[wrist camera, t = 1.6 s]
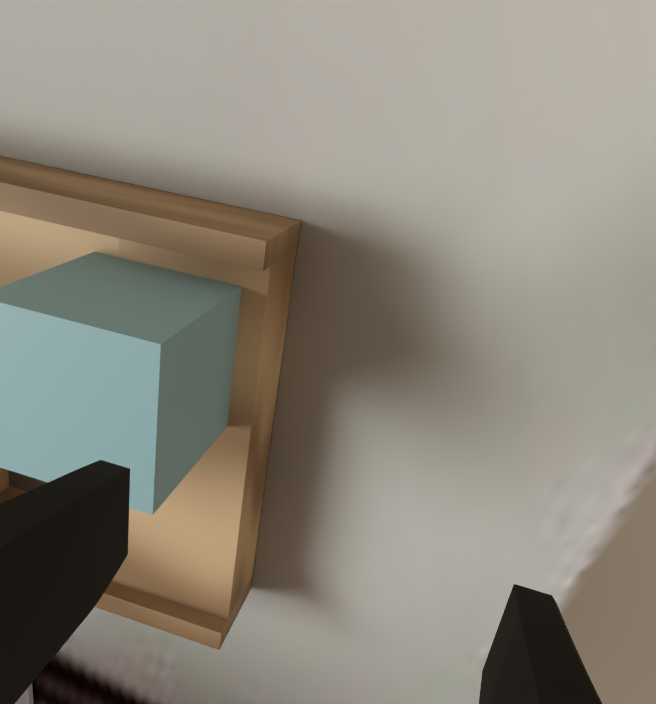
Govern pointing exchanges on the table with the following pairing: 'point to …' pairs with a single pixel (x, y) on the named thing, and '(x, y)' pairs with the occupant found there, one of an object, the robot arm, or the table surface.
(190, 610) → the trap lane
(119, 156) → the table surface
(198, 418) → the teal block
